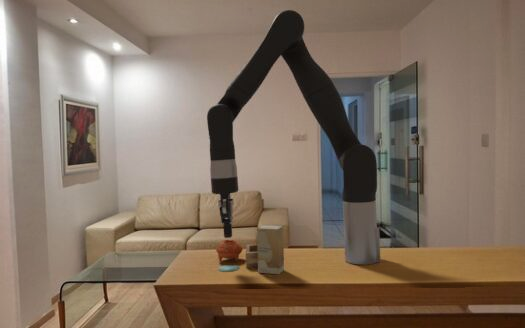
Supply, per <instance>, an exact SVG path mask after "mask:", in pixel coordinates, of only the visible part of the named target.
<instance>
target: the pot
mask: <svg viewBox="0 0 525 328" xmlns="http://www.w3.org/2000/svg"><path fill="white" fill-rule="evenodd" d="M215 251H216V252H217V256H218V257H217V258H218V261H219V263H220V262H222V260H223V258H224V259H227V260H229V259H231V260H232V259H234V260H235V262H238V261H239V256H240V254H241V253H242V252H243V246H241V244H240V243H238V242H237V241H236V240H235V239H224V240H223V242H221V243H220V244H219V245H217V247H216V249H215Z"/></svg>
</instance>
